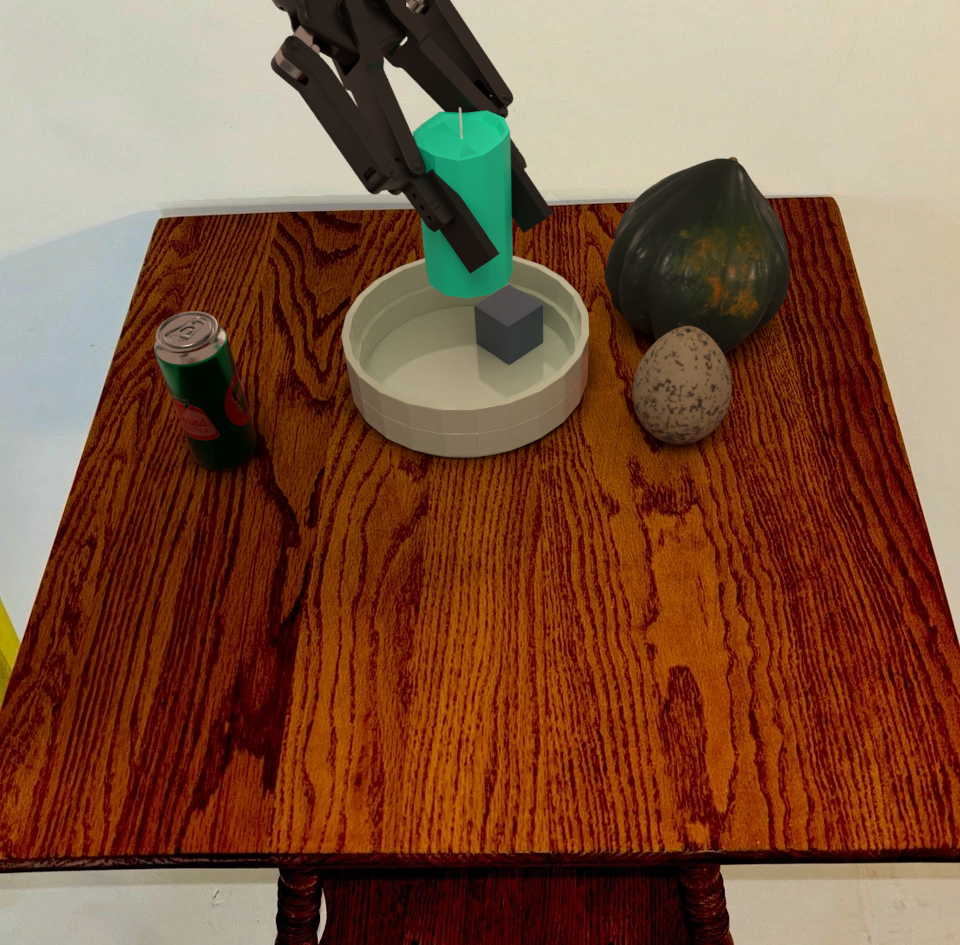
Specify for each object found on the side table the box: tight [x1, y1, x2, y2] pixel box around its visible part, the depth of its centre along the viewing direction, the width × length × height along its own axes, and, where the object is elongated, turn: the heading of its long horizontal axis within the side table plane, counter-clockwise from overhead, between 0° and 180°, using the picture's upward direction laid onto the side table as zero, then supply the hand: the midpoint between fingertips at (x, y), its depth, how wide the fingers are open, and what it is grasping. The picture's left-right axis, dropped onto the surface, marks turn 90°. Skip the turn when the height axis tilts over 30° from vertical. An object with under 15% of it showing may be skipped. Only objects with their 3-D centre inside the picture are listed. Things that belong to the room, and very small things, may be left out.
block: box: [474, 285, 543, 365], centre depth 85 cm, size 4×4×4 cm
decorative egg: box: [631, 326, 733, 445], centre depth 76 cm, size 7×7×10 cm
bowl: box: [340, 255, 590, 459], centre depth 83 cm, size 19×19×6 cm
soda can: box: [153, 310, 258, 472], centre depth 76 cm, size 5×5×12 cm
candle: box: [412, 108, 514, 299], centre depth 67 cm, size 6×6×12 cm
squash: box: [603, 156, 791, 355], centre depth 84 cm, size 14×15×15 cm
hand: (511, 242), depth 67 cm, fingers closed on candle, 5 cm apart
